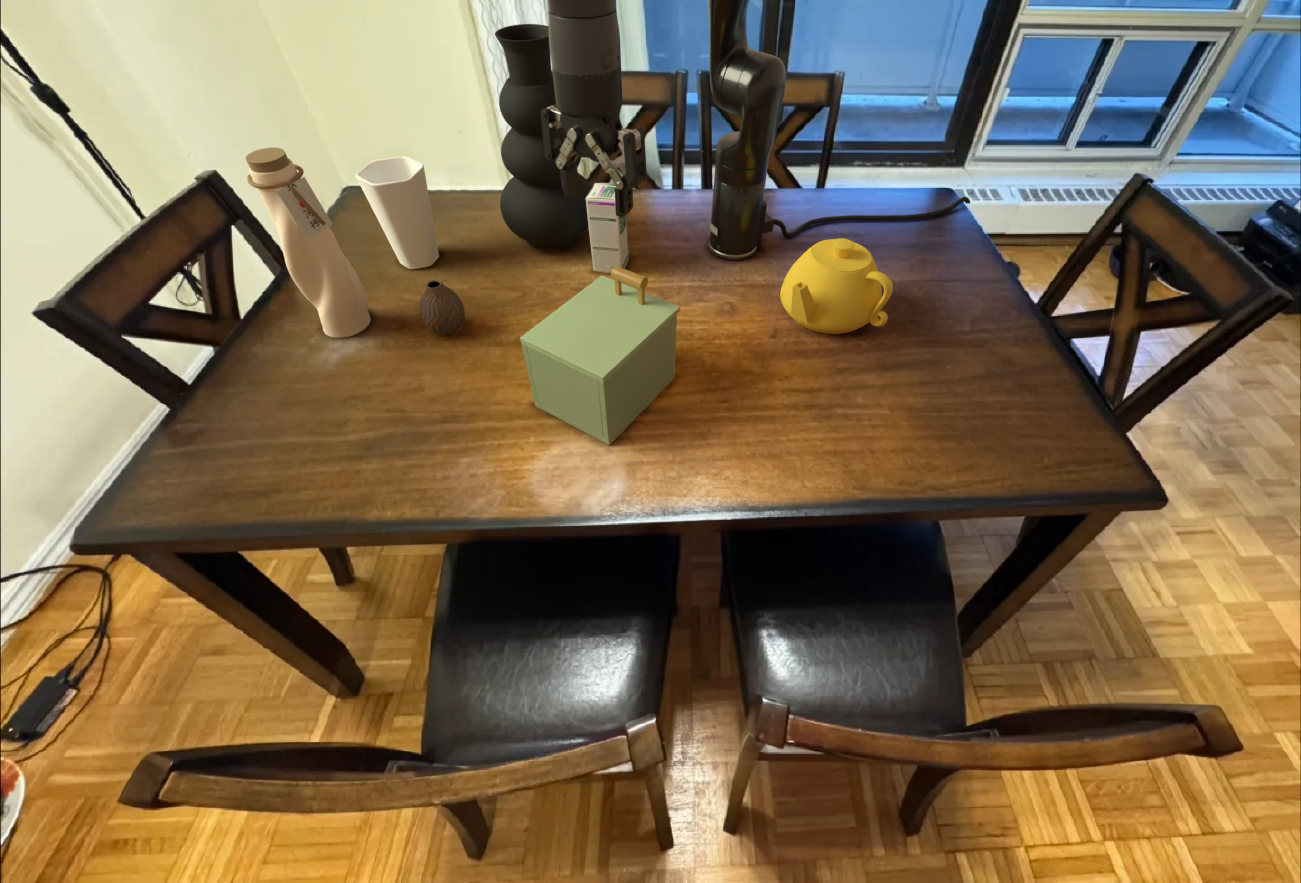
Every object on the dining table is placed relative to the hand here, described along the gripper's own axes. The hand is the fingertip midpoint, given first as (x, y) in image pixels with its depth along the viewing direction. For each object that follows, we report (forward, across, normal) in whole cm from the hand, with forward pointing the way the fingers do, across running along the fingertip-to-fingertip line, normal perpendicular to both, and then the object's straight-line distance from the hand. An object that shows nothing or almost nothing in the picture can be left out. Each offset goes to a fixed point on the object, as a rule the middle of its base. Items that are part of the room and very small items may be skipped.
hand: (597, 205), depth 75 cm
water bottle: (+25, +41, +19) cm, 52 cm away
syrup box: (+25, +16, -21) cm, 36 cm away
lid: (+13, -5, +6) cm, 15 cm away
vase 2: (+25, +32, -22) cm, 46 cm away
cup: (+25, +47, -1) cm, 54 cm away
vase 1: (+25, +26, +11) cm, 38 cm away
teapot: (+25, -24, -30) cm, 46 cm away
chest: (+25, -5, +7) cm, 26 cm away
